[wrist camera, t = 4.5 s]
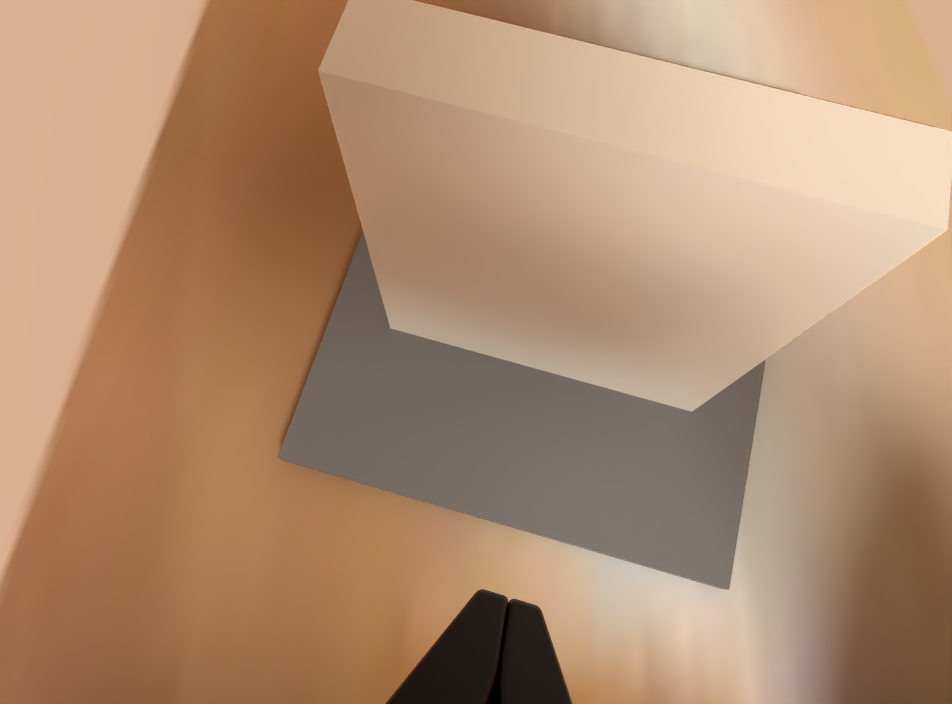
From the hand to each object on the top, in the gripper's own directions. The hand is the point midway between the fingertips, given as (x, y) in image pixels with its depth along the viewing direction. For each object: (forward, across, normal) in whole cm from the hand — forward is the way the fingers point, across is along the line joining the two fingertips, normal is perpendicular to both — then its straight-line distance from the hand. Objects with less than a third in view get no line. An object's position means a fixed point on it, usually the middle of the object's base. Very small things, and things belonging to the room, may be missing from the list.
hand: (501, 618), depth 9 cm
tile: (+14, 0, +2) cm, 14 cm away
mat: (+16, 0, 0) cm, 16 cm away
